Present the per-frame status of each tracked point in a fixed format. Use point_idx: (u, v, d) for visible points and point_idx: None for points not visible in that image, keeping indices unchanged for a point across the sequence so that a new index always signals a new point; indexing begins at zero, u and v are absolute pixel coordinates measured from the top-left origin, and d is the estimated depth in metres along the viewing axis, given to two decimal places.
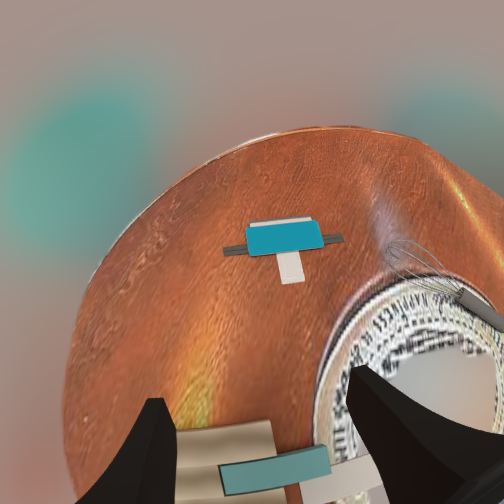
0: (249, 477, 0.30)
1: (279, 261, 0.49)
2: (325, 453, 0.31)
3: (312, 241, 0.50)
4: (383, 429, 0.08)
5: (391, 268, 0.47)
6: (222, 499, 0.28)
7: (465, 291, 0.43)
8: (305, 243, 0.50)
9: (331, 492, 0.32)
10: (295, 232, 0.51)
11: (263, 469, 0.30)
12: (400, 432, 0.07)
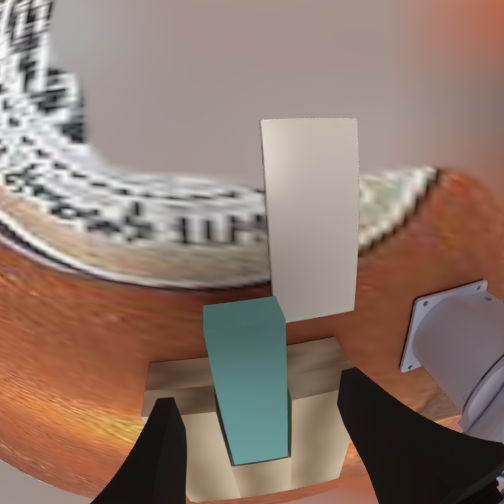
0: (259, 440, 0.18)
1: None
2: (224, 333, 0.15)
3: None
4: (372, 433, 0.08)
5: None
6: (295, 458, 0.20)
7: None
8: None
9: (336, 260, 0.20)
10: None
11: (243, 426, 0.17)
12: (389, 436, 0.07)
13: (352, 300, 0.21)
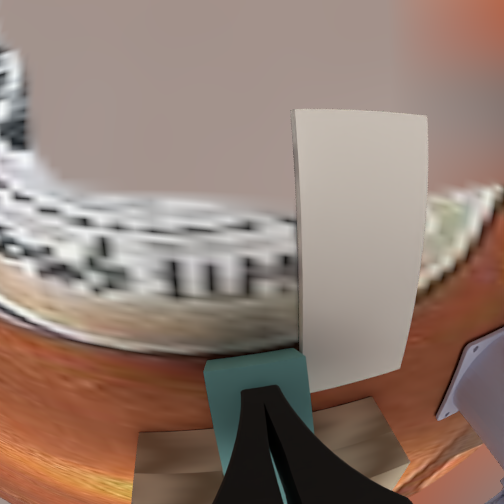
0: None
1: None
2: (230, 376, 0.11)
3: None
4: (280, 457, 0.08)
5: None
6: None
7: None
8: None
9: (388, 313, 0.13)
10: None
11: None
12: (287, 466, 0.07)
13: (400, 358, 0.15)
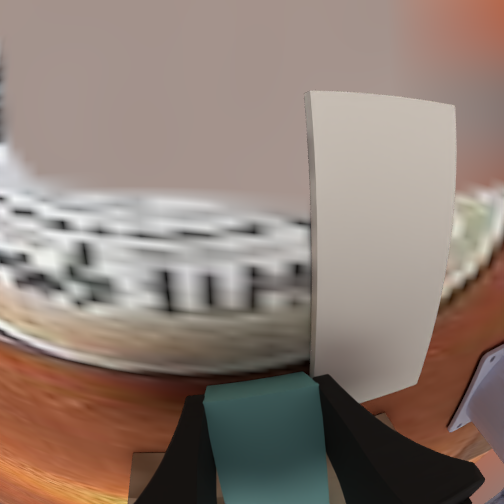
0: None
1: None
2: (233, 408, 0.10)
3: None
4: (341, 442, 0.08)
5: None
6: None
7: None
8: None
9: (408, 326, 0.12)
10: None
11: None
12: (354, 448, 0.07)
13: (418, 373, 0.13)
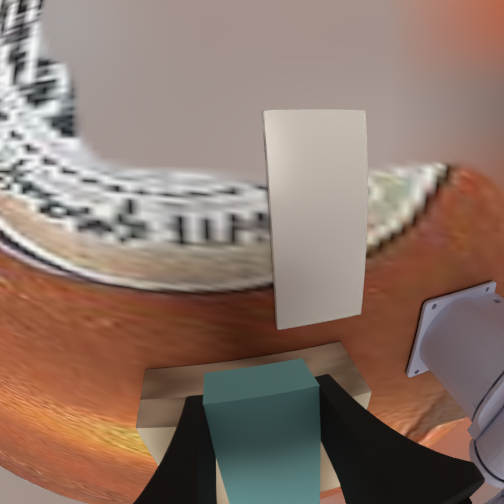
0: None
1: None
2: (233, 408, 0.10)
3: None
4: (341, 443, 0.08)
5: None
6: None
7: None
8: None
9: (343, 261, 0.18)
10: None
11: None
12: (354, 448, 0.07)
13: (359, 303, 0.20)
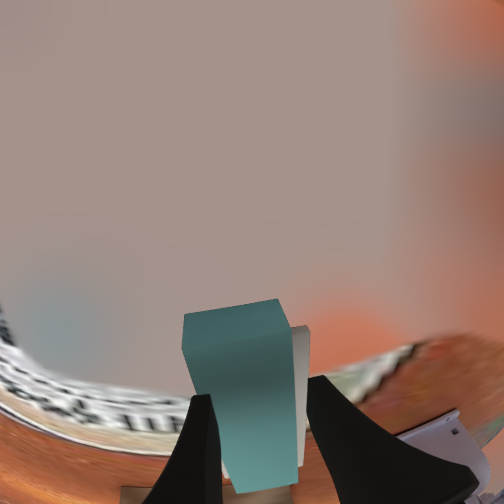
0: (263, 469, 0.14)
1: None
2: (210, 351, 0.11)
3: None
4: (335, 444, 0.08)
5: None
6: None
7: None
8: None
9: None
10: None
11: (244, 457, 0.14)
12: (348, 450, 0.07)
13: (300, 461, 0.18)
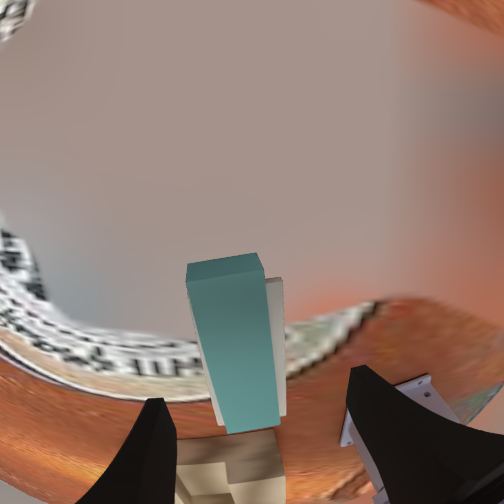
0: (249, 404, 0.19)
1: None
2: (206, 285, 0.16)
3: None
4: (383, 429, 0.08)
5: None
6: None
7: None
8: None
9: None
10: None
11: (232, 388, 0.19)
12: (400, 432, 0.07)
13: (284, 409, 0.23)
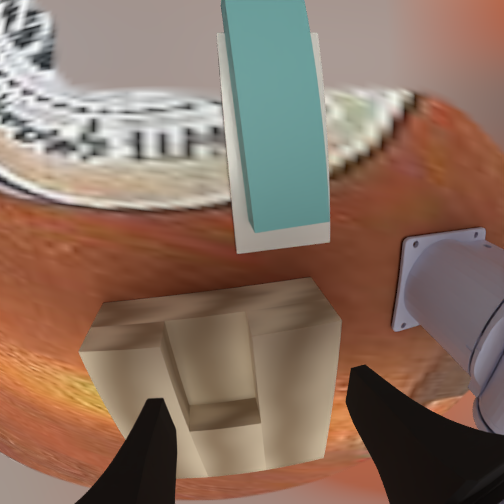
0: (288, 166, 0.15)
1: None
2: None
3: None
4: (383, 429, 0.08)
5: None
6: (266, 424, 0.18)
7: None
8: None
9: None
10: None
11: (266, 130, 0.14)
12: (400, 432, 0.07)
13: (327, 229, 0.19)
